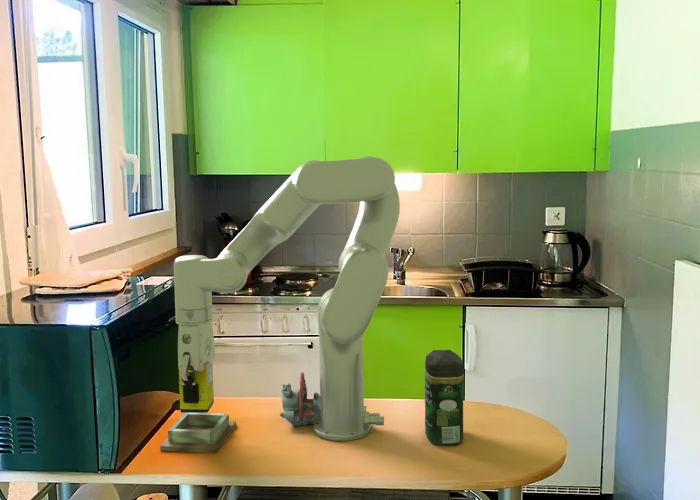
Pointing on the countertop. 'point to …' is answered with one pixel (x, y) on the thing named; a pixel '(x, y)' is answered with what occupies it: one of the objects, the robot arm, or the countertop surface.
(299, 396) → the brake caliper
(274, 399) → the countertop surface
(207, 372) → the supplement box
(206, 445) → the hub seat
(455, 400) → the coffee jar
